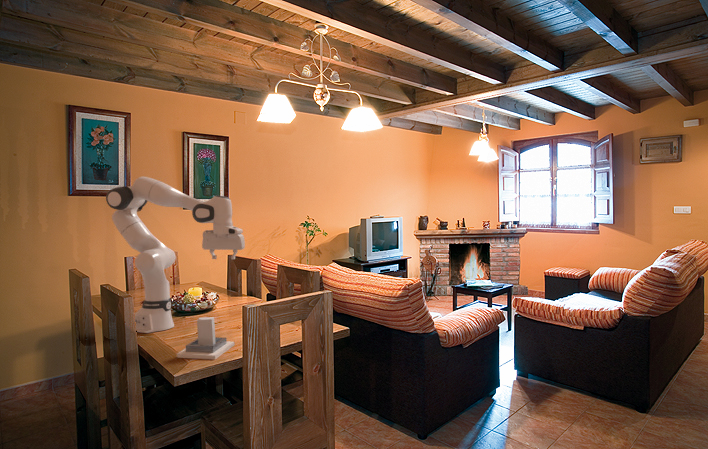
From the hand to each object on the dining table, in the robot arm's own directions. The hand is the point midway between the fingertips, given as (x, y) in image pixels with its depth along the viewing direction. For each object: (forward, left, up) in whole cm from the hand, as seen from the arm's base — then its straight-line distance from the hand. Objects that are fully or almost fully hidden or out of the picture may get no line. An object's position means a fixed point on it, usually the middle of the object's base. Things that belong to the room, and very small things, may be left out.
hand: (223, 259), depth 202 cm
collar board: (+6, -29, -34) cm, 45 cm away
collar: (+6, -29, -33) cm, 44 cm away
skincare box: (+6, -29, -33) cm, 44 cm away
